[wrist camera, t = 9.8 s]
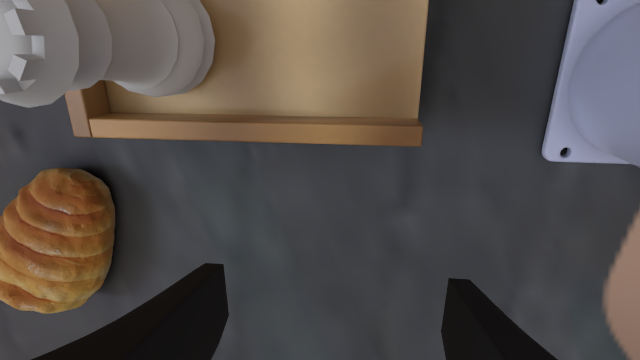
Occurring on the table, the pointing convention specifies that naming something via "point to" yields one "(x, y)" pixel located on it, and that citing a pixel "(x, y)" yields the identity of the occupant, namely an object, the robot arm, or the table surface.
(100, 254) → the pastry
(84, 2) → the rook chess piece
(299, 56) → the wooden tray
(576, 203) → the table surface
